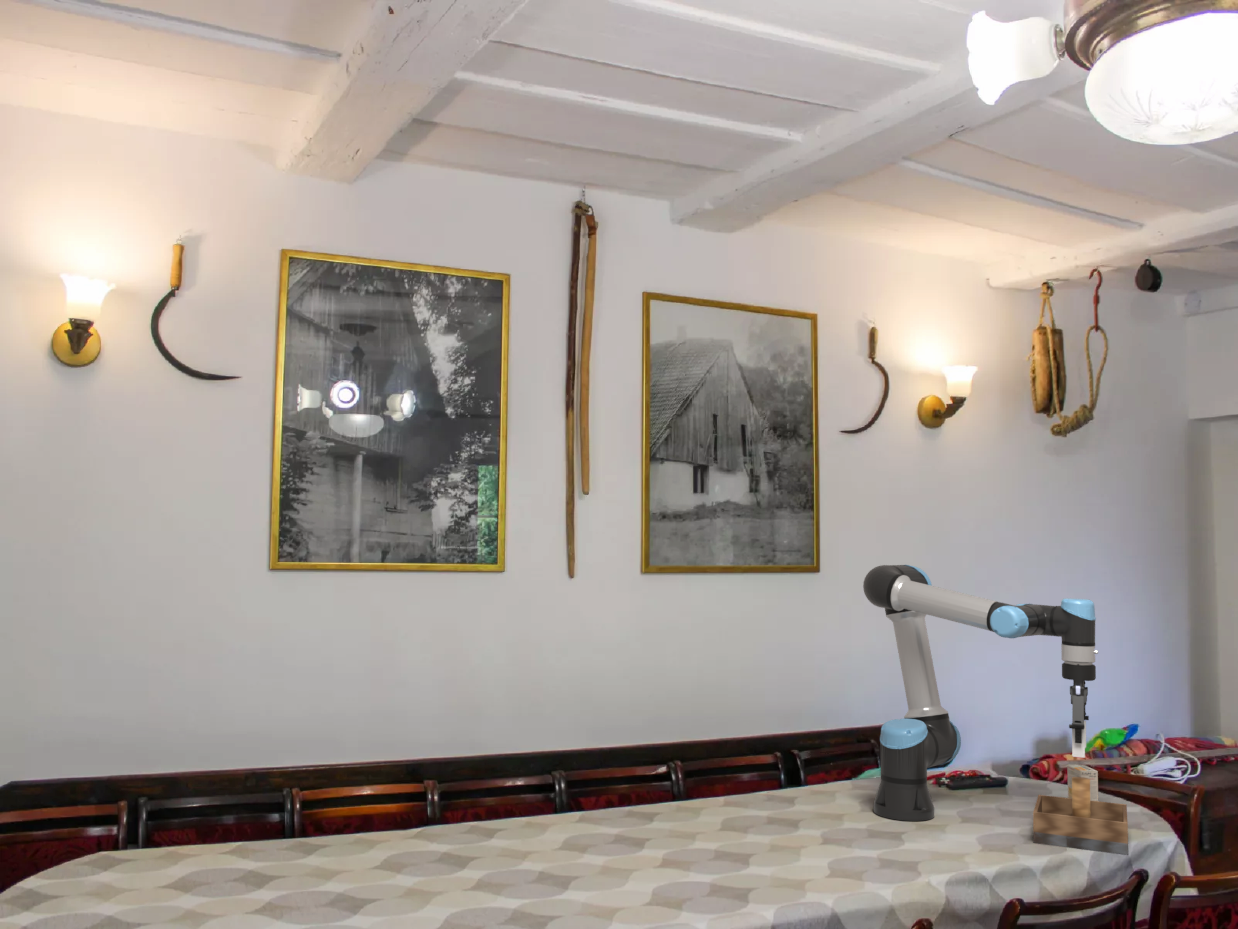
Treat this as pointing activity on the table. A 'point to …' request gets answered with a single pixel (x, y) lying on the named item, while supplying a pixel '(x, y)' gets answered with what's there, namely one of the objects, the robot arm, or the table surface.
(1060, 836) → the box
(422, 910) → the table surface
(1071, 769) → the supplement box
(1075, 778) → the dowel
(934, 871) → the table surface
